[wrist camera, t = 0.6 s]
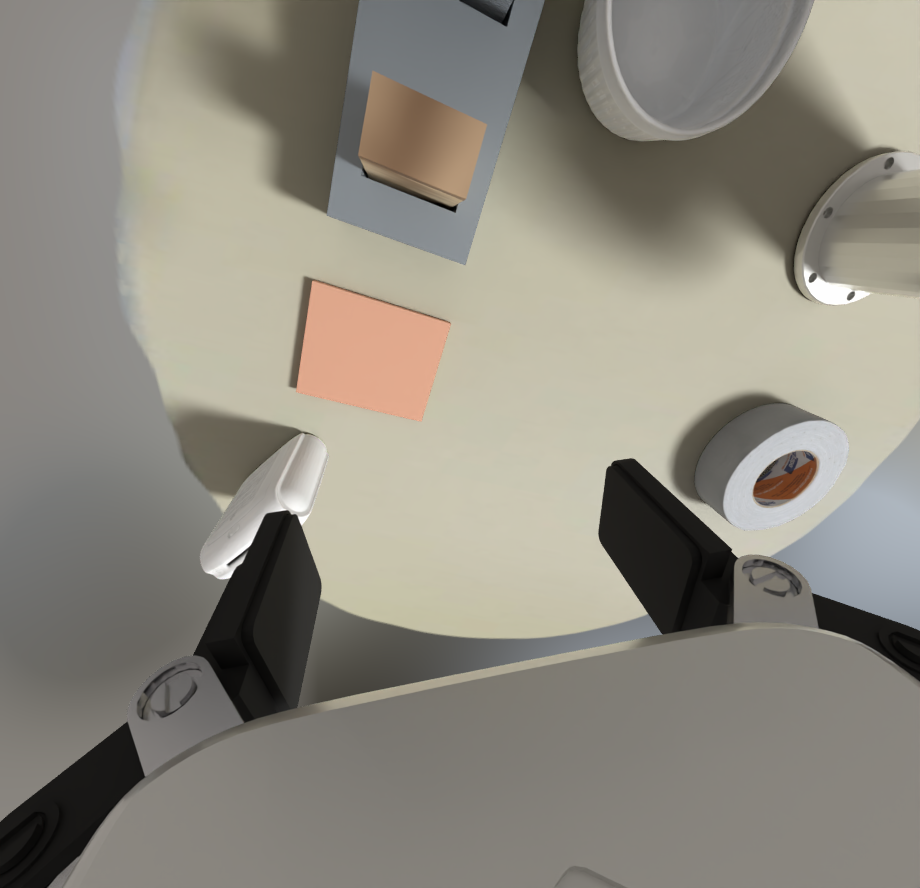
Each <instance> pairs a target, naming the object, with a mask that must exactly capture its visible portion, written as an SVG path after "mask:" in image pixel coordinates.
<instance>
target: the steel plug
mask: <svg viewBox="0 0 920 888" xmlns="http://www.w3.org/2000/svg"><path fill="white" fill-rule="evenodd" d="M459 1H461V2H462V3H464V4H466V5H468V6H470V7H472V8H473V9H475V10H477V11H479V12H481V13H482V14H484V15H486V16H488V17H490V18H491V19H493V20H495V21H497V22H499V23H500V24H502V22H503V20H504V18H505V16H506V13H507V11H508V9H509V7H510V5H511V3H512V1H513V0H459Z"/></svg>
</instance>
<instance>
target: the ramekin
mask: <svg viewBox="0 0 920 888" xmlns="http://www.w3.org/2000/svg"><path fill="white" fill-rule="evenodd" d="M813 3H814V0H585V1H584V9H583V12H582V14H581V18H580V28H579V32H578V48H577V52H578V68H579V77H580V80H581V83H582V89H583V92H584V94H585V97H586V100H587V102H588V104H589V106H590V108H591V110H592V112H593V113H594V114H595V116H596V118H597V119H598V120H599V121H600V122H601V123H602V124H603V126H604V127H606V128H608V129H609V130H610V131H611V132H612V133H615V134H617V135H618V136H619V137H623V138H626V139H628V140H636V141H658V140H673V141H679V140H688V139H693V138H697V137H700V136H703V135H705V134H708V133H710V132H713V131H715V130H717V129H720V128H722V127H724V126H725V125H727V124H729V123H730V122H732V121H734V120H735V119H736V118H738V117H739V116H741V115H742V114H743V113H744V112H746V111H747V110H748V109H749V108H750V107H751V106H752V105H753V104H754V103H755V102H756V101H757V100H758V99H759V98H760V97H761V96H762V95H763V94H764V93H765V92H766V90H767V89H768V88H769V87H770V85H771V84H772V83H773V82H774V80H775V79H776V78H777V76H778V75H779V73H780V72H781V70H782V69H783V67H784V66H785V64H786V63H787V61H788V59H789V58H790V56H791V54H792V52H793V50H794V49H795V47H796V45H797V43H798V41H799V39H800V36H801V34H802V32H803V30H804V27H805V25H806V23H807V20H808V18H809V15H810V12H811V9H812V6H813Z"/></svg>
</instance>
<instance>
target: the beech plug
mask: <svg viewBox="0 0 920 888" xmlns="http://www.w3.org/2000/svg"><path fill="white" fill-rule="evenodd" d="M486 127H487V124H485V123H483V122H481V121H479V120H477V119H475V118H473V117H470V116H468V115H466V114H464V113H462V112H460V111H458V110H456V109H453V108H451V107H449V106H447V105H445V104H443V103H441V102H439V101H436V100H434V99H432V98H430V97H428V96H426V95H424V94H421V93H419V92H417V91H415V90H413V89H411V88H409V87H407V86H404V85H402V84H400V83H398V82H396V81H394V80H392V79H390V78H387V77H385V76H383V75H381V74H379V73H377V72H375V71H372V77H371V83H370V89H369V94H368V100H367V106H366V112H365V118H364V124H363V129H362V135H361V141H360V147H359V153H358V156H359V158H360V160H361V162H362V164H363V166H364V168H365V170H366V172H367V174H368V176H369V178H370V179H371V180H373V181H376V182H378V183H381V184H383V185H386V186H389V187H391V188H394V189H396V190H399V191H401V192H404V193H406V194H409V195H411V196H414V197H416V198H419V199H421V200H424V201H427V202H429V203H432V204H434V205H437V206H439V207H442V208H444V209H447V210H448V209H450V208H451V207H453V206H455V205H457V204H458V203H460V202H462V201H464V200H466V198H467V194H468V191H469V187H470V184H471V180H472V177H473V173H474V170H475V166H476V162H477V159H478V155H479V152H480V148H481V145H482V141H483V138H484V134H485V131H486Z"/></svg>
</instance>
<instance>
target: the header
mask: <svg viewBox="0 0 920 888" xmlns="http://www.w3.org/2000/svg"><path fill="white" fill-rule="evenodd" d="M544 2H545V0H513V1H512V3H511V5H510V7H509V9H508V11H507V13H506V16H505V18H504V20H503V22H502V24H500V23H499V22H497V21H495V20H493V19H491V18H490V17H488V16H486V15H484V14H482V13H481V12H479V11H477V10H475V9H473V8H472V7H470V6H468V5H466V4H464V3H462V2H461V1H459V0H359V5H358V12H357V18H356V25H355V32H354V38H353V45H352V52H351V58H350V65H349V72H348V78H347V85H346V91H345V98H344V105H343V111H342V118H341V125H340V131H339V138H338V144H337V151H336V158H335V164H334V171H333V178H332V184H331V191H330V198H329V204H328V211H327V216H329V217H332V218H335V219H338V220H341V221H343V222H346V223H349V224H352V225H354V226H357V227H360V228H363V229H366V230H368V231H371V232H374V233H377V234H380V235H382V236H385V237H388V238H391V239H393V240H396V241H399V242H402V243H405V244H407V245H410V246H413V247H416V248H419V249H421V250H424V251H427V252H430V253H433V254H435V255H438V256H441V257H444V258H446V259H449V260H452V261H455V262H458V263H460V264H463V265H465V264H466V261H467V258H468V254H469V251H470V248H471V244H472V241H473V238H474V234H475V231H476V228H477V224H478V221H479V218H480V214H481V211H482V208H483V204H484V201H485V198H486V194H487V191H488V188H489V185H490V181H491V178H492V175H493V171H494V168H495V165H496V161H497V158H498V155H499V151H500V148H501V145H502V141H503V138H504V135H505V131H506V128H507V125H508V121H509V118H510V115H511V111H512V108H513V105H514V101H515V98H516V95H517V91H518V88H519V85H520V81H521V78H522V75H523V71H524V68H525V65H526V62H527V58H528V55H529V52H530V48H531V45H532V42H533V38H534V35H535V32H536V28H537V25H538V22H539V18H540V15H541V12H542V8H543V5H544ZM372 71H375V72H377V73H379V74H381V75H383V76H385V77H387V78H390V79H392V80H394V81H396V82H398V83H400V84H402V85H404V86H407V87H409V88H411V89H413V90H415V91H417V92H419V93H421V94H424V95H426V96H428V97H430V98H432V99H434V100H436V101H439V102H441V103H443V104H445V105H447V106H449V107H451V108H453V109H456V110H458V111H460V112H462V113H464V114H466V115H468V116H470V117H473V118H475V119H477V120H479V121H481V122H483V123H485V124H487V127H486V131H485V134H484V138H483V141H482V145H481V148H480V152H479V155H478V159H477V162H476V166H475V170H474V173H473V177H472V180H471V184H470V187H469V191H468V194H467V198H466V200H464V201H462V202H460V203H458V204H457V205H455V206H453V207H451V208H450V210H447V209H444V208H442V207H439V206H437V205H434V204H432V203H429V202H427V201H424V200H421V199H419V198H416V197H414V196H411V195H409V194H406V193H404V192H401V191H399V190H396V189H394V188H391V187H389V186H386V185H383V184H381V183H378V182H376V181H373V180H371V179H368V174H367V172H366V170H365V168H364V166H363V164H362V162H361V160H360V158H359V156H358V153H359V147H360V141H361V135H362V129H363V124H364V118H365V112H366V106H367V100H368V94H369V89H370V83H371V77H372Z"/></svg>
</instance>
